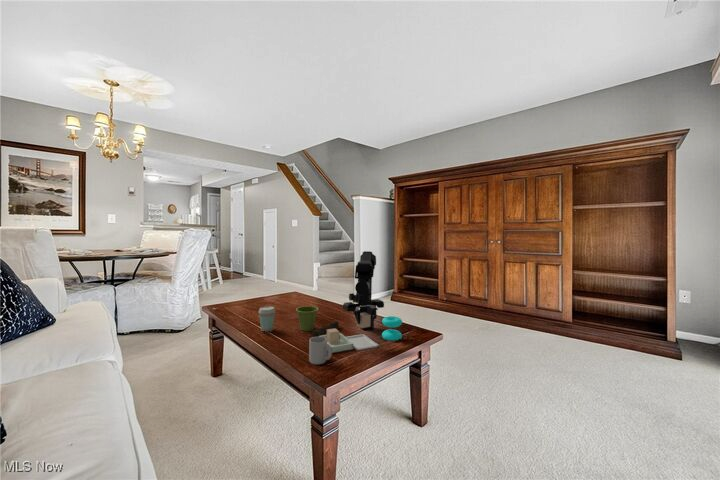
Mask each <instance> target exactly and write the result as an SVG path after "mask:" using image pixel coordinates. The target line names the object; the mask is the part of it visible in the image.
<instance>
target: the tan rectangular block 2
mask: <svg viewBox="0 0 720 480" xmlns="http://www.w3.org/2000/svg"><path fill="white" fill-rule="evenodd" d="M370 317H371V315H370V314H368V313H365V312H364V313H360V324H358V323H357V322H356V326H357V327H359V328H360V327H361V328H365V327H370ZM361 328H360V329H361Z"/></svg>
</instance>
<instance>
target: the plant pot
mask: <svg viewBox="0 0 720 480" xmlns="http://www.w3.org/2000/svg"><path fill="white" fill-rule="evenodd" d="M295 310H296V312H297V316H298V323H299V328H300V331H303V332H312V331H314V329H315V325H316V324H315V323H316V318H317V313H318V310H319V307H317V306H313V305H304V306H299V307H297V308H295Z"/></svg>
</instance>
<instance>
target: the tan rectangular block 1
mask: <svg viewBox="0 0 720 480" xmlns="http://www.w3.org/2000/svg"><path fill="white" fill-rule="evenodd" d="M339 333H340V331H339V330H338V328H337V329H336V328H335V329H328V330H327V333H326V335H327V342H328V343H329V344H334V343H339Z"/></svg>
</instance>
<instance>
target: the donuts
mask: <svg viewBox="0 0 720 480" xmlns="http://www.w3.org/2000/svg"><path fill="white" fill-rule="evenodd" d="M381 323H382V324H383V326H385V327H387V328H391V329H385V330H384V331H383V332H382V333H381V337H382V338H383V340H387V341H399V339H400V340H401V339H402V337H403V334H402V332H401V331H400V330H397V329H392V328H398V327H400V326H401V325H402V324H403V320H402V318H400V317H399V316H398V317H397V316H391V315H390V316H385V317H383V318H382V320H381Z"/></svg>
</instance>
